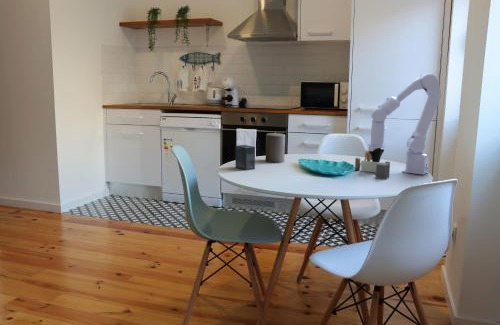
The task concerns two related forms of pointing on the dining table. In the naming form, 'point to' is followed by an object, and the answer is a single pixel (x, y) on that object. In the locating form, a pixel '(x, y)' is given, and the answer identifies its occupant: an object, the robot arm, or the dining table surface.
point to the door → (368, 166)
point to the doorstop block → (382, 170)
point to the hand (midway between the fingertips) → (375, 164)
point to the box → (245, 157)
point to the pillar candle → (275, 147)
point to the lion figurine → (368, 156)
